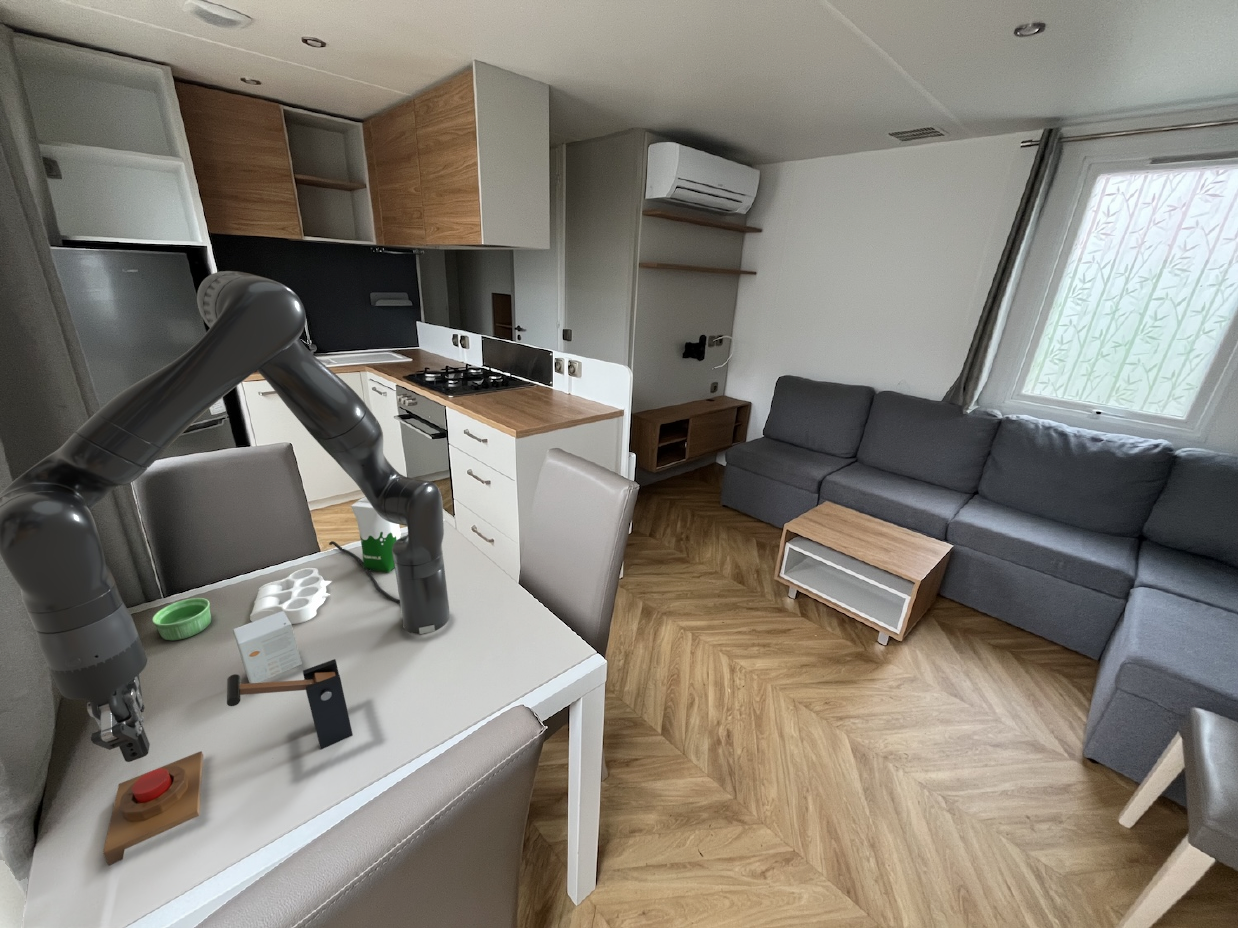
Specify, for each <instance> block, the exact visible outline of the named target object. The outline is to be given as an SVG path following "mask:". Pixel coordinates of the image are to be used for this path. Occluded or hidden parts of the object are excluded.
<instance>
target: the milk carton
mask: <svg viewBox="0 0 1238 928" xmlns="http://www.w3.org/2000/svg"><path fill="white" fill-rule="evenodd" d="M350 508H351V510H352V512H353V514H354V516H355V519H356V522H357V528H358V532H359V533H358V534H359V540H360V543H361V551H362V561H363V566H364V567H363V566H362V567H363V570H364V571H366V570H365V569H364V568H365V567H367V568H368V569H369V570H370V571H374V572H381V573H382V572H383V573H390V572H391V571H392V570H394V569H395V567H394V560H393V554H392V546H393V544H394V543H395V541H396V540H398V539H399V538H401V537H402V535H401V534H402V533H401V529H400V524H395V523H391V522H389V521H386V520H385V519H383V518H382V517H380V516H379V514H378V513H377V512H376V511H375V509H374V508H373V507H372V505H371V504H370V502H369V501H368V499H367V498H366V496H365V495H364V497H362V498H360V499H358V500H357V501H356V502H354V503H353V504H350Z"/></svg>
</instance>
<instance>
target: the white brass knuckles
mask: <svg viewBox="0 0 1238 928" xmlns="http://www.w3.org/2000/svg"><path fill="white" fill-rule="evenodd" d="M332 582H333V581H332V580H325V579H324V577H323V576H322V575H320V571H319V569H318V568H316V567H305V568H301V569H298V570H295V571H293V572H292V573H291V574H289V575H288V576H287V577H284V578H283V579H279V580H273V581H271V582H268V583H265V584H263V585H262V586H260V587H259V588H258V590H257V591H258V592H257V594H256V595H257V596H256V598H255V600H254V601H253V608H252V611H251V613H250V614H249V619H250V621H251V622H254V621H257V620H259V619H262V618H265V617H267V616H270V615H273V614H276V613H278V612H281V611H284V612H285V614H286V616H287V618H288V619H289V621H290V623H291V624H292V625H297V624H303V623H305V622H308V621H310V620H311V619H313V618H314V617H315V616H316V615H317V611H318V608H319V607H321V606H322V605H323V604H324V602H325V601H326V599H327V598H328V597H330V596H331V594H330V593H328V592H327V587H328V586H329V585H330V584H331V583H332Z"/></svg>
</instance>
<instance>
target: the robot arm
mask: <svg viewBox="0 0 1238 928" xmlns="http://www.w3.org/2000/svg"><path fill="white" fill-rule="evenodd" d="M196 302H197V308H198V311H199V314H200V317H201V318H202V319H203V321H204V323H205V324H206V326H207V327H208V330H207V331H206V332H205V334H204V335H203V336H201V338H200V339H199V340H198V341H197V342H196V343H194V344H193V346H192V347H190V348H189V349H188V350H187V351H185V352H184V353H183V354H181V355H180V356H179V357H176V359H174V360H173V361H171V362H170V363H168V364H167V365H164V366H163V367H162V368H159V369H158V370H156V371H154V372H153V373H151V374H149V375H147V376H146V377H144V378H142V379H140V380H139V381H136V382H135V383H133V384H132V385H130V386H128V387H127V388H125V389H124V390H122V391H121V392H119V393H118V394H117V395H115V396H114V397H112V398H111V399H110V400H109V401H108V402H106V403H105V404H104V405H102V406H101V407H100V408H99V409H98V410H97V411H96V412H95V413H94V414H93V415H92V416H91V417H90V418H89V419H88V420H86V421H85V422H84V423H83V424H82V425H81V426H80V427H79V428H78V429H77V430H76V431H75V432H73V434H71V435H70V436H69V438H68V439H66V441H65V442H64V443H63V444H62V446H60V447H59V448H58V449H56V450H55V451H54V452H52V453H50V454H48V455H47V456H46V457H44V458H43V459H41V460H40V461H39V462H37V463H36V464H33V466H32V467H30V468H29V469H27V470H26V471H25V472H23V473H22V474H20V475H19V476H18V477H17V478H15V479H14V480H13V481H11V482H10V484H8V485H7V486H6V487H5V488H4V489H3V490H1V492H0V558H1V560H2V562H3V564H4V565H5V567H6V569H7V570H8V572H9V574H10V575H11V577H12V579H13V580H14V582H15V583H16V585H17V586H18V588H19V589H20V596H21V600H22V603H23V606H24V608H25V610H26V613H27V615H28V617H29V619H30V622H31V624H32V626H33V628H34V631H35V634H36V637H37V642H38V647H39V650H40V652H41V654H42V657H43V658H44V661H45V663H46V666H47V668H48V669H49V672H50V674H51V676H52V678H53V681H54V682H55V685H56V687H57V690H58V691H59V693H60V695H61V696H62V697H64V698H66V699H68V700H81V701H88V702H87V704H86V710H87V713H88V715H89V717H91V718H94V720H95V722H96V724H97V727H98V728H99V729H96V731H95V732H92V733H91V737H90V742H92V744H93V745H96V746H99V747H101V748H104V749H107V750H109V751H111V750H113V749H117V748H119V749H120V753H121V754H122V758H123V759H124V761H125V762H127V763H131V762H133V761H137V760H140V759H141V758H144V757H147V755H148V754H149V752H150V747H151V744H150V743H151V742H150V741H149V738H148V736H147V733H146V731H145V728H144V726H143V725H144V722H145V717H144V716H143V714H142V713H144V711H145V708H146V707H145V704H144V699H143V693H142V687H141V679H140V674H141V673H142V672H143V671H144V669H145V668H146V666H147V665H148V656H147V653H146V651H145V648H144V646H143V643H142V640H141V638H140V635H139V632H138V629H137V627H136V625H135V621H134V618H133V616H132V614H131V612H130V611H129V609H128V608H127V606H126V604H125V603H124V600H123V599H122V596H121V593H120V590H119V587H118V585H117V582H116V580H115V578H114V575H113V573H112V571H111V569H110V568H109V566H108V565H107V562H106V556H105V552H104V549H103V544H102V541H101V537H100V534H99V531H98V527H97V524H96V521H95V519H94V517H93V514H92V512H91V511H92V510H93V509H94V508H95V507H96V506H97V505H98V504H99V503H100V502H102V501H103V500H104V499H105V498H106V497H107V496H108V495H110V493H111V492H112V491H113V490H114V489H116V488H117V487H118V486H125V485H129V484H131V483H133V482H134V481H136V480H137V479H138V478H139V477H141V476H142V475H143V474H144V473H145V472H146V471H147V470H148V468H150V467H151V466H152V465H153V464H154V463H155V462H156V461H157V460H158V459H159V458H160V457H161V456H162V455H163V454H164V453H165V452H166V450H168V449H169V448H170V447H171V445H172V444H173V443H175V441H177V439H178V438H179V437H180V436H181V435H182V434H184V433H185V431H187V429H188V428H190V427H191V426H192V424H194V423H195V422H196V421H197V420H198V419H199V418H200V417H202V416H203V415H204V413H206V412H207V411H208V410H209V409H211V407H213V406H214V405H215V404H216V403H218V402H219V401H221V399H222V398H223V397H225V396H226V395H227V394H229V393H230V392H231V391H233V389H235V388H236V387H237V386H239V385H240V384H241V383H243V382H244V381H245V380H246V379H248V378H249V377H250V376H252V375H253V374H254V373H256V372H257V373H258V374H259V375H260V376H261V377H262V378H263V379H264V380H265V381H266V382H267V383H268V384H269V386H271V388H272V389H273V391H274V392H275V393H276V394H277V396H278V397H279V398H280V400H281V401H282V402H283V403H284V405H285V406H286V407H287V408H288V410H289V411H290V412H291V413H292V414H293V415H294V417H296V419H297V420H298V421H299V422H300V423H301V425H302V426H303V427H304V428H305V430H306V431H307V432H308V433H309V434H310V435H311V437H312V438H313V439H314V440H315V441H316V442H317V443H318V445H320V447H322V449H323V450H324V451H325V452H326V453H327V454H328V455H329V456H330V457H331V458H332V459H333V460H334V461H335V462H336V463H337V465H339V466H340V468H341V469H342V470H343V471H344V472H345V473H346V474H347V475H348V476H349V478H351V479H352V481H353V482H354V483H355V484H356V485H357V486H358V488H359V489H360V491H361V492H362V494H363V495H364V497H365V496H366V498H367V499H368V501H369V502H370V504H371V505H372V507H373V508H374V509H375V511H376V512H377V513H378V514H379V516H380V517H382V518H383V519H385V520H386V521H389V522H391V523H395V524H399V526H400V525H401V526H406V527H407V534H405V535H402V536H401V538H399V539H398V540H396V541H395V543H394V544H393V546H392V554H393V560H394V571H395V577H396V584H397V590H398V598H396V597H394V596H392V595H391V594H389V593H387V592H386V591H385V590H384V589H382V588H381V587H380V585H379V583H378V582H377V580H376V579H375V577H374V576H373V574H372V572H371V570H369V569H368V568H367V567H365V568H364V566H363V559H361V558H360V557H359V556H357V555H356V554H354V552H351V551H349V550H347V549H346V548H344V549H342V548H343V547H342V546H341V545H339V544H338V543H337V542H336V541H334V540H331V541H330V542H329V543H328V545H329V546H334V547H336V549H338V550H339V551H341V552H342V553H345V554H347V555H348V556H350V557H352V558H353V559H355V560H356V561H357V562H358V563H359V564H360V565H361V566H362V568H363V570H364V569H365V570H364V571H365V572H366V573H367V575H368V578H369V579H370V580H371V582H372V584H373V586H374V587H375V589H376V590H377V591H378V592H379V593H380V594H382V595H383V596H384V597H385V598H387V599H388V600H390V601H392V602H395V603H397V604H399V605H400V611H401V616H402V617H401V618H402V623H403V625H402V627H403V628H404V629H405V631H406V632H409V633H411V634H415V635H423V634H424V635H425V634H430V633H433V632H436V631H437V630H440V629H441V628H443V627H444V626H445V625H446V624H448V622H449V620H450V618H451V614H450V612H451V611H450V604H449V603H450V602H449V595H448V586H447V578H446V569H445V561H444V560H445V559H444V553H443V552H444V551H443V542H444V536H445V527H444V526H445V525H444V524H445V523H444V505H443V504H444V503H443V497H442V493H441V489H440V488H439V487H438V485H437V484H436V483H434V482H433V481H430V480H426V479H420V478H416V477H408V476H405V475H403V474H401V473H400V472H398V471H397V470H396V469H395V468H394V466H392V464H391V463H390V462H389V460H388V459H387V458H386V456H385V453H384V432H383V428H382V426H381V424H380V421H378V419H377V418H376V416H375V415H374V414H373V412H372V411H371V409H370V408H369V407H368V406H367V404H366V403H365V401H364V400H363V399H362V398H361V397H360V396H359V394H358V393H357V392H356V391H355V390H354V389H353V388H352V387H351V386H350V385H348V383H347V382H345V381H344V380H343V379H342V378H341V377H340V376H338V375H337V374H336V373H335V372H333V371H332V370H331V369H330V368H329V367H328V366H326V365H325V364H324V363H323V362H321V360H319V359H318V358H317V357H316V356H315V355H314V354H313V353H312V352H311V351H310V350H309V349H308V347H306V346H305V344H304V343H303V342H302V341H301V339H300V337H301V335H302V333H303V332H304V330H305V326H306V321H307V316H306V310H305V307H304V304H303V302H302V300H301V298H300V297H299V295H298V294H296V292H295V291H293V290H292V289H291V288H290V287H288V286H286V285H285V284H283V283H281V282H278V281H276V280H274V279H270V278H267V277H264V276H260V275H256V274H252V273H248V272H243V271H239V270H237V271H236V270H225V271H223V270H222V271H217V272H213V273H211V274H209V275H207V276H206V277H205V278H203V280H202V281H201V283H200V285H199V287H198V289H197V294H196Z"/></svg>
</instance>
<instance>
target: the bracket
mask: <svg viewBox="0 0 1238 928" xmlns="http://www.w3.org/2000/svg"><path fill="white" fill-rule="evenodd" d="M323 672H335V675H336V676H333V677H331V678H328V679H325V680H323V681H320V682H317V683H315V684H312V685H309V686H307V687H306V690H305V692H306V697H307V700H308V701H307V702H308V704H309V709H310V713H311V717H312V721H313V724H314V729H315V732H316V736H317V740H318V744H319V748H320V749H319V750H324V749H326V748H328V747H331V746H333V745H335V744H337V743H339V742H341V741H344V740H346V739H348V738H351V737H352V736H354V735H353V734H354V733H353V730H352V725H351V722H350V716H349V712H348V707H347V701H346V697H345V693H344V689H343V684H342V679H341V675H340V673H339V669H338V664H337V660H336V659H335V658H334V659H332V660H331V659H330V660H327V661H324V662H323V663H320V664H317V665H314V666H311V667H308V668H305V669H303V670H302V675H303V680H310V679H313V676H314V674H315V673H323Z"/></svg>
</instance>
